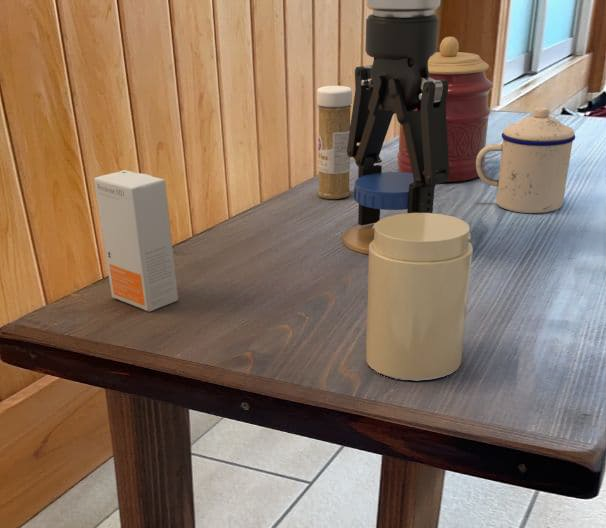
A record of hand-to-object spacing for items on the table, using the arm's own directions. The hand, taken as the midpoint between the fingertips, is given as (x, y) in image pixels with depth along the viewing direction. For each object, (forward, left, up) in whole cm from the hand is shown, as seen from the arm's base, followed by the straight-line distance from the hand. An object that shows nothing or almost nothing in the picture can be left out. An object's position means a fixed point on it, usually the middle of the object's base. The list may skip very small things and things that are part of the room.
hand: (392, 233), depth 102 cm
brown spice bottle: (+11, -18, -1) cm, 21 cm away
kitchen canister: (-2, -33, -1) cm, 33 cm away
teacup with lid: (-14, -18, -1) cm, 23 cm away
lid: (0, 0, +5) cm, 5 cm away
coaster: (0, 0, -1) cm, 1 cm away
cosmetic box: (+22, +24, -1) cm, 33 cm away
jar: (-7, +33, -1) cm, 34 cm away
